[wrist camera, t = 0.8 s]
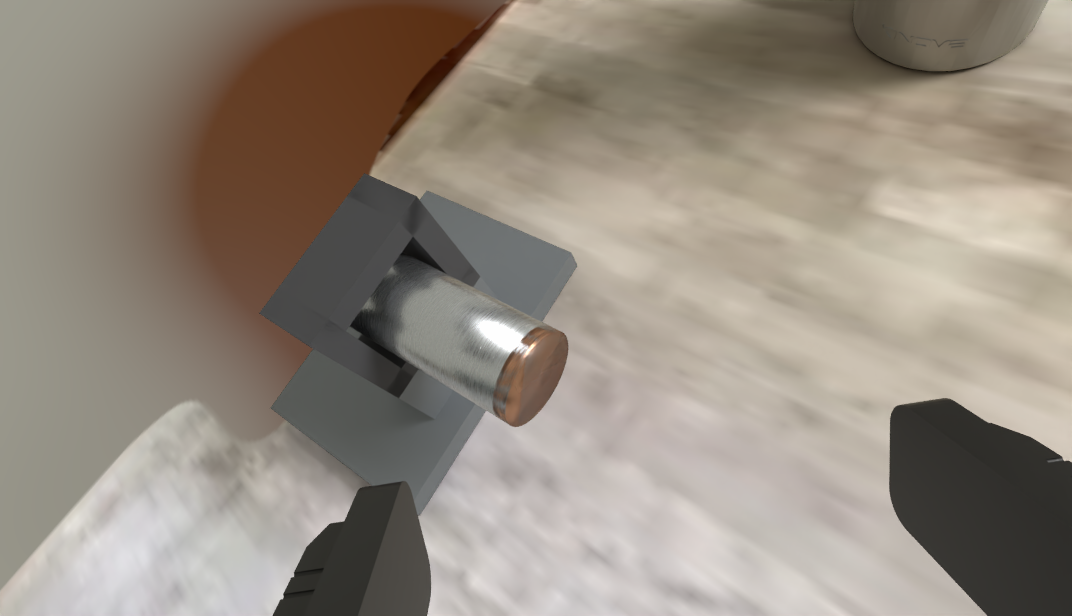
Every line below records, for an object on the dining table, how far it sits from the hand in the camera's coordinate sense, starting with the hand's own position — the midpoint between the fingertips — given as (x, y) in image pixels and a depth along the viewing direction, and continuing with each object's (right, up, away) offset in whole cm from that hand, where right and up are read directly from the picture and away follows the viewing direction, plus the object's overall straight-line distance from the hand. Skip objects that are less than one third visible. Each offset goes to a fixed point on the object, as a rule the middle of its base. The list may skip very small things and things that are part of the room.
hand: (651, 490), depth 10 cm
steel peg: (-6, +2, +17) cm, 18 cm away
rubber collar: (-8, +2, +20) cm, 21 cm away
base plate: (-8, +1, +26) cm, 27 cm away
